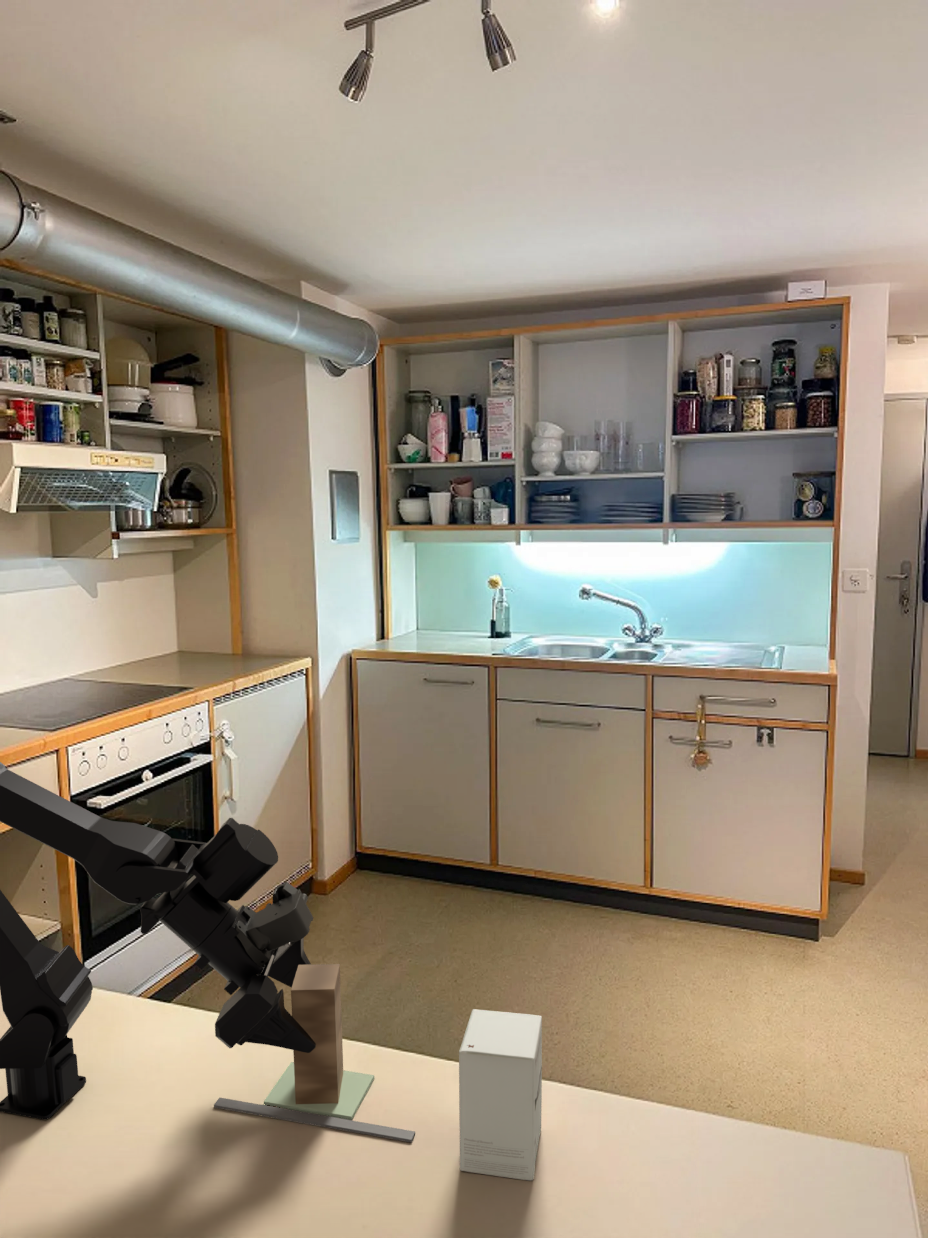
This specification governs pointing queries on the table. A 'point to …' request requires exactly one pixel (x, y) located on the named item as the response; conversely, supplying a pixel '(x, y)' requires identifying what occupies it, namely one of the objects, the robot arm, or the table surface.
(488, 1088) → the supplement box
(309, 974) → the walnut post
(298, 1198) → the table surface
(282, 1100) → the mat
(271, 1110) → the charcoal strip
